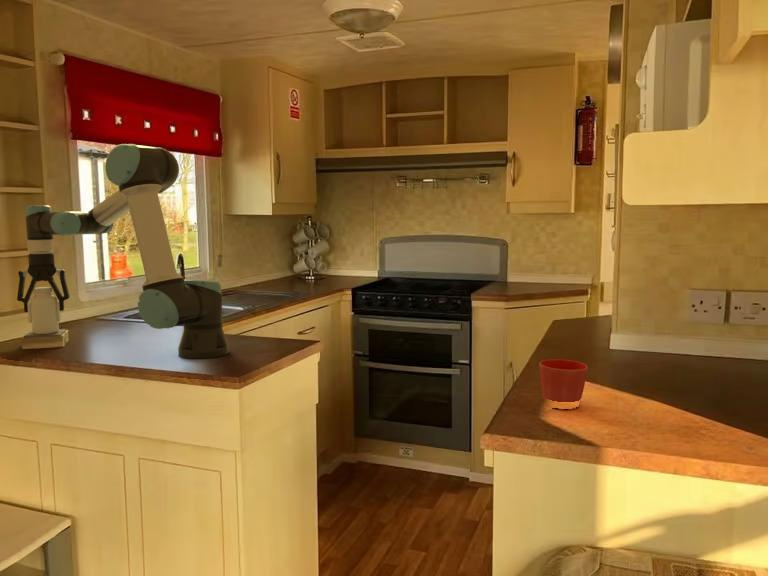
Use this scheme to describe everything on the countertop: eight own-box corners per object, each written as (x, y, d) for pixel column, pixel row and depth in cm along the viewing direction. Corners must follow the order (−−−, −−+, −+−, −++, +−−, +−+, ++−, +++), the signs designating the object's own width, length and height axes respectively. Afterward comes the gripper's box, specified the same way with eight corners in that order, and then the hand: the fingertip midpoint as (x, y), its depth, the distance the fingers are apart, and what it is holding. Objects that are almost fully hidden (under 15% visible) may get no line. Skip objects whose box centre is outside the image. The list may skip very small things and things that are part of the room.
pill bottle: (28, 332, 216) (25, 287, 215) (53, 329, 222) (51, 285, 221) (37, 335, 211) (34, 289, 209) (63, 332, 217) (60, 287, 215)
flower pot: (576, 398, 155) (578, 358, 154) (593, 412, 144) (594, 369, 143) (532, 398, 155) (533, 358, 154) (545, 413, 144) (547, 369, 143)
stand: (63, 346, 213) (62, 334, 213) (22, 349, 210) (21, 336, 209) (68, 340, 225) (68, 328, 224) (30, 342, 221) (29, 330, 221)
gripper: (77, 251, 220) (80, 318, 223) (8, 252, 214) (12, 321, 217) (74, 252, 213) (77, 321, 216) (2, 254, 207) (7, 324, 210)
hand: (45, 321), depth 216 cm, fingers closed on pill bottle, 8 cm apart
